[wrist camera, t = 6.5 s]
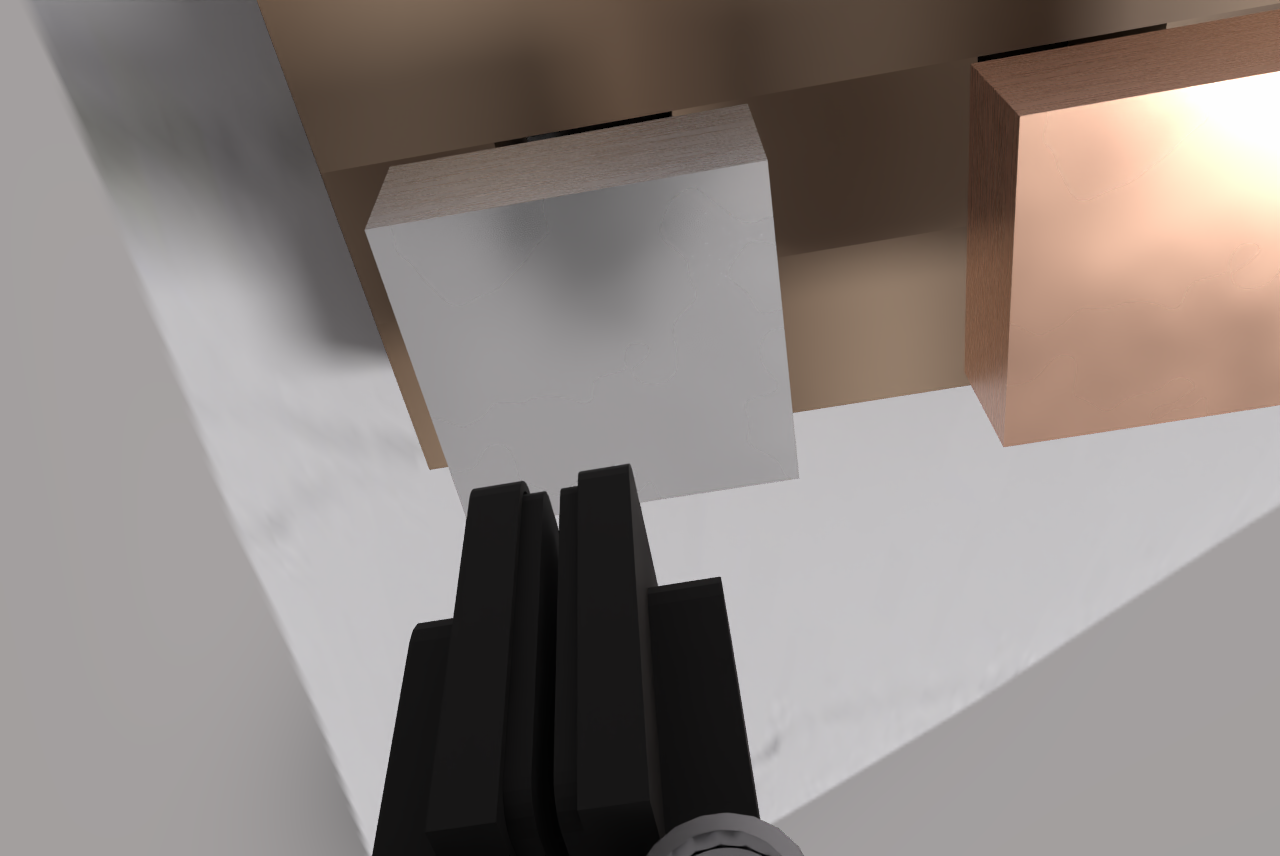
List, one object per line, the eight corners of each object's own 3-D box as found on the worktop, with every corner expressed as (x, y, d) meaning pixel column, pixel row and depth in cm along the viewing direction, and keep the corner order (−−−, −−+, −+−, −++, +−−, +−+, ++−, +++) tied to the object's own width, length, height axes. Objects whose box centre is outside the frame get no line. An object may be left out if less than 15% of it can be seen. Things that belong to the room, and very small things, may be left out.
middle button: (1210, -69, 17) (1459, 40, 12) (1169, 214, 20) (1357, 392, 15) (899, -13, 17) (1020, 116, 12) (904, 257, 20) (1003, 447, 15)
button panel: (1772, -386, 17) (2046, -397, 14) (1558, 183, 23) (1716, 268, 20) (300, -97, 19) (240, -47, 16) (450, 363, 25) (429, 469, 22)
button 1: (718, 21, 17) (767, 159, 13) (750, 283, 20) (799, 477, 16) (426, 75, 18) (365, 230, 13) (498, 325, 21) (469, 528, 16)
